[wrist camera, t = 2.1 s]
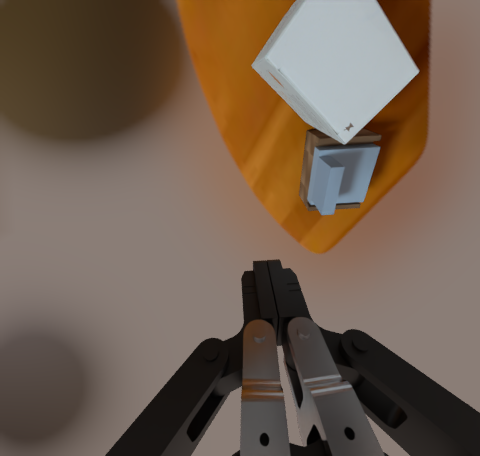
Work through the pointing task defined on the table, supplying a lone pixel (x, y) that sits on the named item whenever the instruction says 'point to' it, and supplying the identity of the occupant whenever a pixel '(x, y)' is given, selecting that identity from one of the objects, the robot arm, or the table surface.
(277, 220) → the table surface
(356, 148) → the lid
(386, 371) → the robot arm
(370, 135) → the case
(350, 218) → the table surface
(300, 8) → the small box
